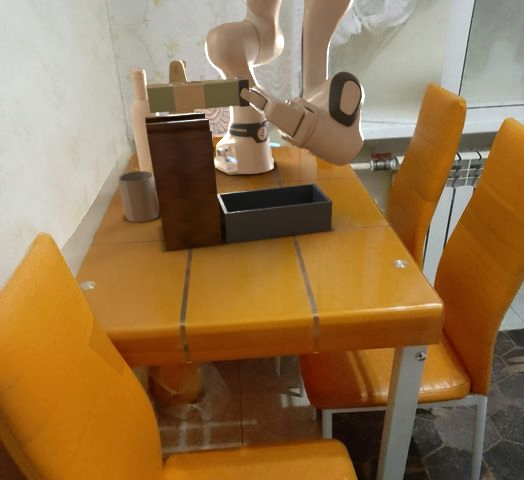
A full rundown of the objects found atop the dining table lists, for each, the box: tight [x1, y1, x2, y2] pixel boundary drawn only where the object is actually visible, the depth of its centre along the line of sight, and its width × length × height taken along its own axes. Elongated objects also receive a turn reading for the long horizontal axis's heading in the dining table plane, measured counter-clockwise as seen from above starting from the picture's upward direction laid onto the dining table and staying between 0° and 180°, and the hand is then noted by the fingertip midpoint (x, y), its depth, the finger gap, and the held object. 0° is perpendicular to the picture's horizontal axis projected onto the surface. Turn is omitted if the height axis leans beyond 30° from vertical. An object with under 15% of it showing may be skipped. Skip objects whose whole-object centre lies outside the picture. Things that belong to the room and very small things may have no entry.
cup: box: [117, 170, 160, 223], centre depth 123 cm, size 8×8×10 cm
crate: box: [217, 182, 333, 244], centre depth 115 cm, size 25×14×7 cm, turn 102°
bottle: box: [129, 68, 160, 190], centre depth 137 cm, size 8×8×30 cm
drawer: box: [146, 76, 250, 114], centre depth 98 cm, size 20×5×5 cm, turn 102°
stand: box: [145, 112, 223, 252], centre depth 107 cm, size 12×14×25 cm
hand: (238, 89), depth 99 cm, fingers closed on drawer, 5 cm apart
